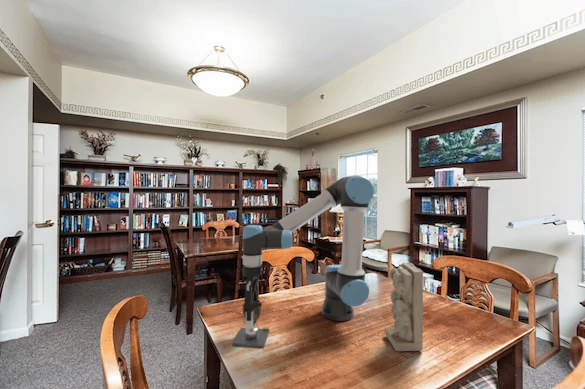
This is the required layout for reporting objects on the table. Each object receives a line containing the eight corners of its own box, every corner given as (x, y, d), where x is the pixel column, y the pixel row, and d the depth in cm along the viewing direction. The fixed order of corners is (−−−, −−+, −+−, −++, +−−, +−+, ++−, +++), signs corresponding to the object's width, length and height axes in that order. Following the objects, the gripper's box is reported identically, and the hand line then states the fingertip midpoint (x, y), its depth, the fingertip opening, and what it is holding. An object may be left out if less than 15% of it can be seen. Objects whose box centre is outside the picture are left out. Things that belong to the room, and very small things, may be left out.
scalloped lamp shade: (257, 329, 104) (258, 308, 104) (239, 327, 106) (239, 306, 106) (263, 320, 111) (264, 300, 112) (246, 319, 113) (246, 299, 113)
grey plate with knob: (269, 331, 114) (269, 321, 114) (263, 347, 102) (264, 336, 102) (241, 330, 115) (241, 320, 115) (232, 345, 103) (232, 334, 103)
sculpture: (384, 335, 112) (384, 260, 112) (410, 335, 112) (410, 261, 112) (395, 353, 99) (395, 269, 99) (423, 353, 99) (424, 269, 99)
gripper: (249, 258, 119) (248, 312, 119) (235, 271, 99) (234, 335, 99) (266, 259, 118) (265, 313, 118) (256, 272, 99) (255, 336, 99)
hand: (251, 323), depth 109 cm, fingers closed on scalloped lamp shade, 7 cm apart
